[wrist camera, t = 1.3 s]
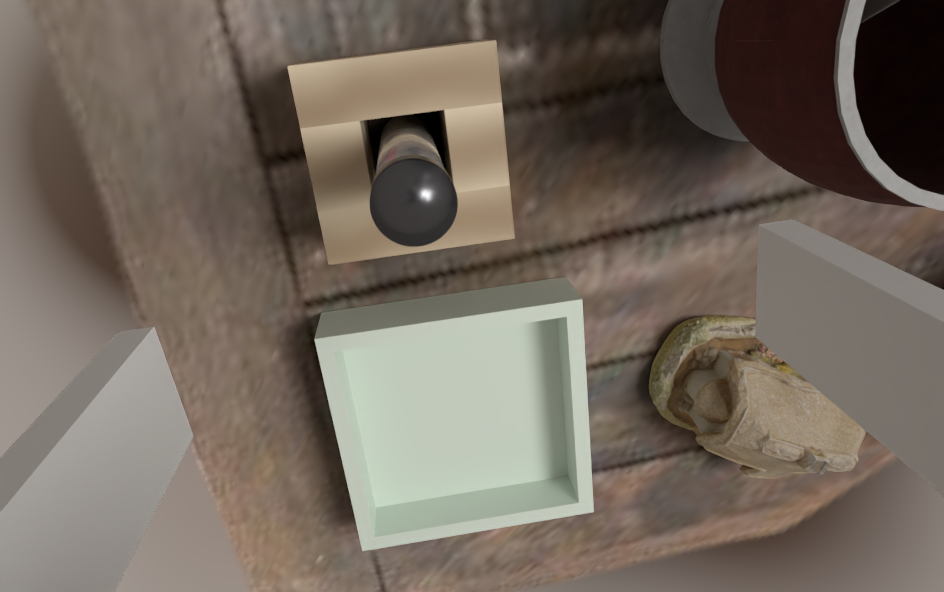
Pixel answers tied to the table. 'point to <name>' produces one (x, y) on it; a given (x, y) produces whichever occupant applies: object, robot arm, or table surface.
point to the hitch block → (394, 94)
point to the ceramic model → (749, 401)
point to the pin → (411, 185)
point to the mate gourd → (819, 88)
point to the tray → (460, 410)
